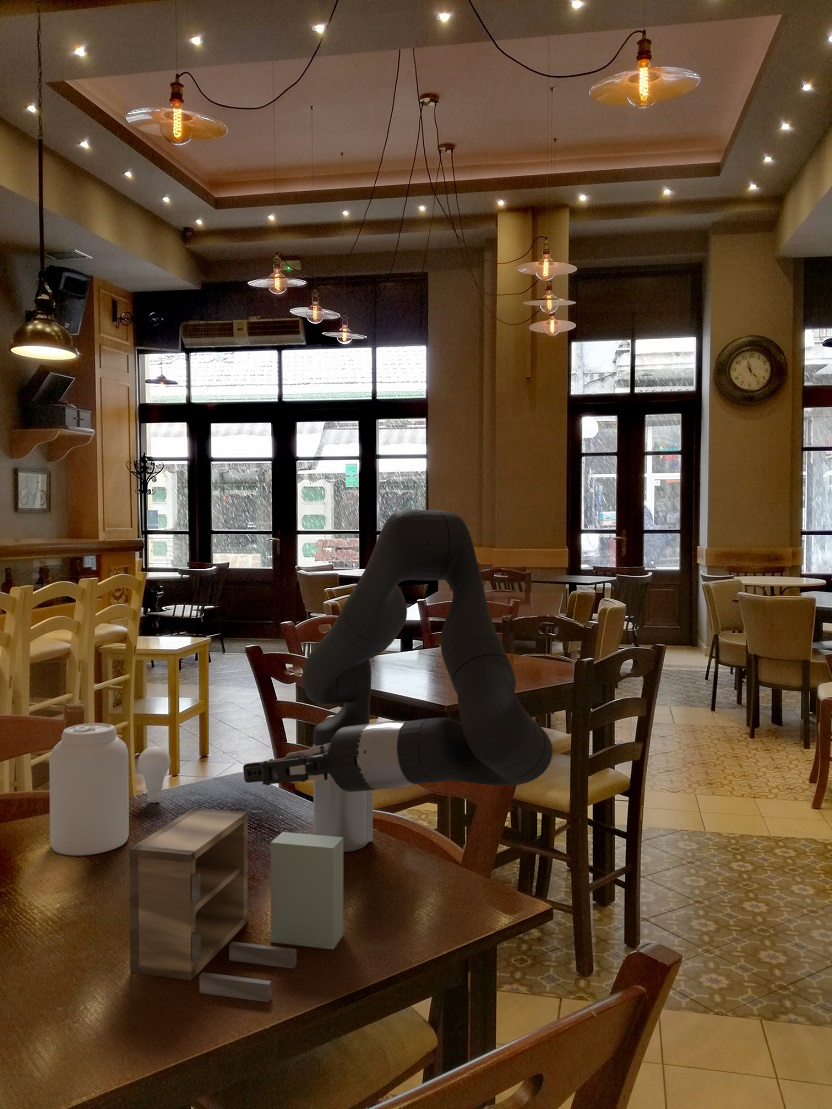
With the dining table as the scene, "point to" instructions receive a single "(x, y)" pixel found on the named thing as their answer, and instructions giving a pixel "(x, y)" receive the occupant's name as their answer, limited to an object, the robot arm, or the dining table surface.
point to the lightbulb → (154, 770)
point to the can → (89, 790)
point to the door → (307, 890)
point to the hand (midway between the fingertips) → (267, 767)
